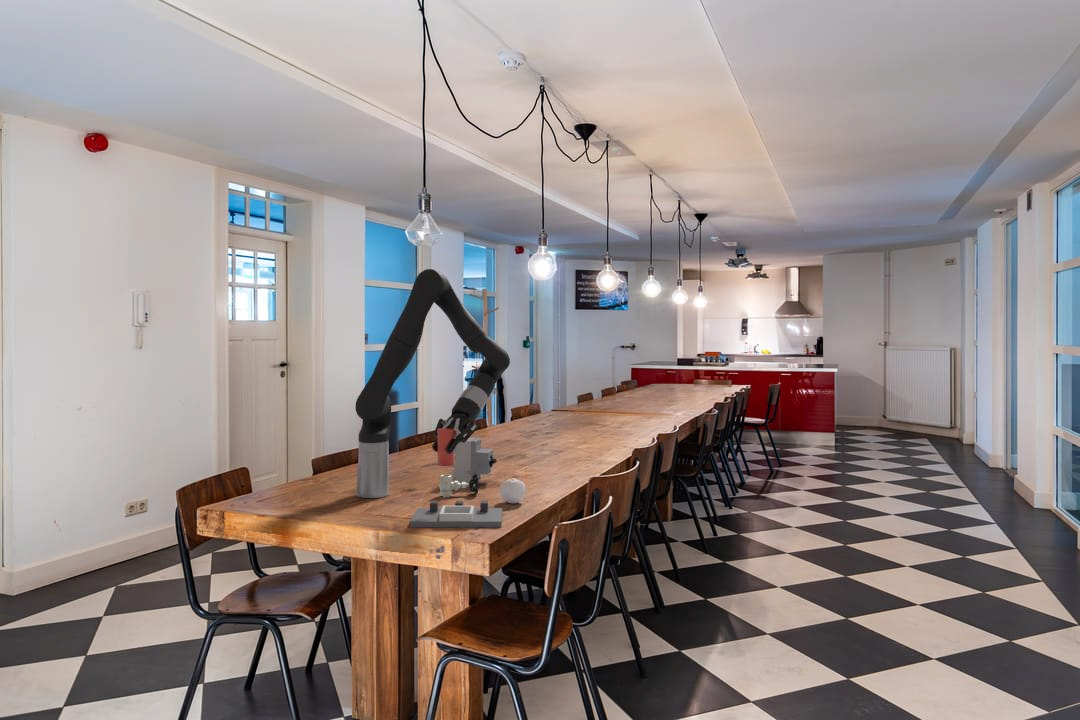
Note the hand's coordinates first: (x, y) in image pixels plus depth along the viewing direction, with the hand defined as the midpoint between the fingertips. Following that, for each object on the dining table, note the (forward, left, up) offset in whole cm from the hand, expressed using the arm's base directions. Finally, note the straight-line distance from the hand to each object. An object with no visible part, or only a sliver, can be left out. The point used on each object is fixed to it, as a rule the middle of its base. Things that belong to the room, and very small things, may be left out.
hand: (441, 450), depth 185 cm
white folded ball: (+20, +15, -19) cm, 31 cm away
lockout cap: (+1, +2, -4) cm, 5 cm away
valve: (+3, +25, -19) cm, 31 cm away
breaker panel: (+5, -4, -18) cm, 20 cm away
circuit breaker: (+7, +44, -19) cm, 48 cm away
